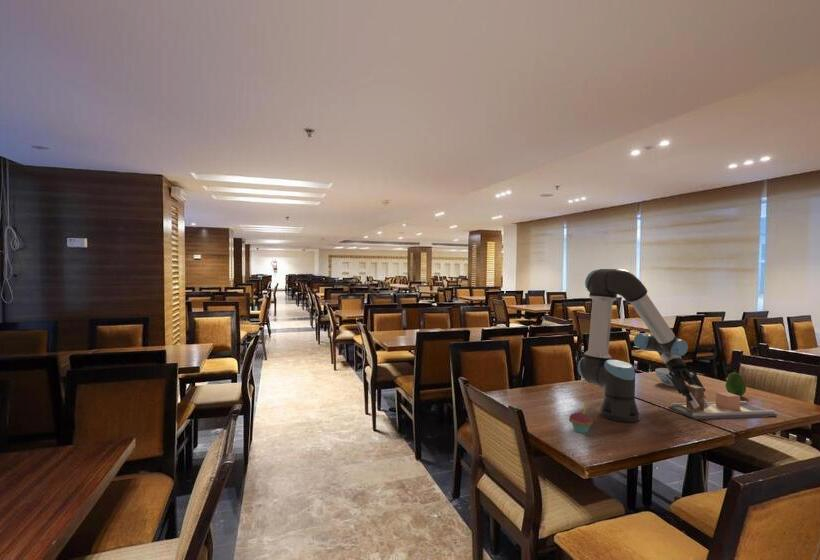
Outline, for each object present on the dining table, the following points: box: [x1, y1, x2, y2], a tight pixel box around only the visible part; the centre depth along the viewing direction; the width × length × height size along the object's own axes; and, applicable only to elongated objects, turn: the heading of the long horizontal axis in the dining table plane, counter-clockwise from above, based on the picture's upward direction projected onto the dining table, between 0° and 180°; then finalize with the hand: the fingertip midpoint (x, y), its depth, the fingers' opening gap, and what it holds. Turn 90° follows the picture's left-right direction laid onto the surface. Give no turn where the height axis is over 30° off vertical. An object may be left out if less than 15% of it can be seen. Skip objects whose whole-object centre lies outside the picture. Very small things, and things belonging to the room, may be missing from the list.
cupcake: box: [568, 402, 594, 434], centre depth 153 cm, size 9×8×12 cm
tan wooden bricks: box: [681, 384, 752, 413], centre depth 175 cm, size 26×10×11 cm, turn 95°
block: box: [715, 391, 741, 410], centre depth 175 cm, size 6×6×6 cm
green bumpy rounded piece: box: [725, 371, 747, 397], centre depth 199 cm, size 8×8×12 cm
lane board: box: [668, 400, 778, 420], centre depth 175 cm, size 38×15×2 cm, turn 95°
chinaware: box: [654, 367, 675, 387], centre depth 220 cm, size 15×15×8 cm
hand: (702, 407), depth 170 cm, fingers closed on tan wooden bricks, 4 cm apart
